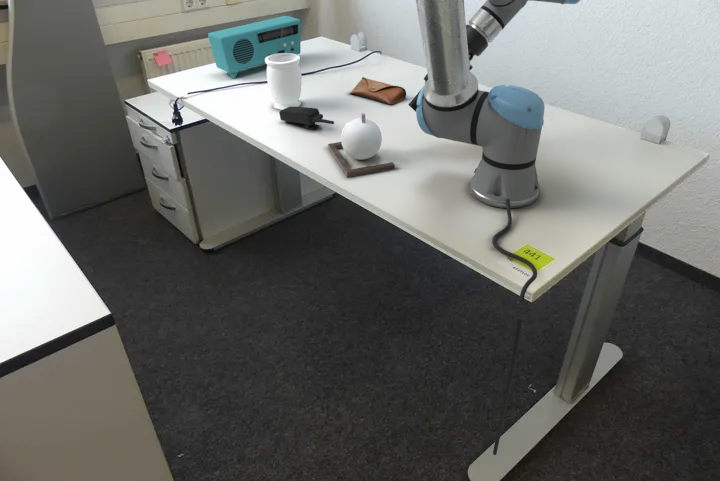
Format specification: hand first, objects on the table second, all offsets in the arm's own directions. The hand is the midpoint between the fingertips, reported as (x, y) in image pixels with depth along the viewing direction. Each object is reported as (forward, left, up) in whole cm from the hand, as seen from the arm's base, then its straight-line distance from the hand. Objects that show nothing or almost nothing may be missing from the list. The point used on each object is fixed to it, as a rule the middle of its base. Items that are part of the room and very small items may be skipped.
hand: (412, 108), depth 138 cm
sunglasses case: (+40, -5, -12) cm, 42 cm away
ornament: (+1, +14, -12) cm, 18 cm away
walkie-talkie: (+24, +22, -12) cm, 34 cm away
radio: (+84, +26, -12) cm, 89 cm away
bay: (0, +14, -11) cm, 18 cm away
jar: (+43, +25, -12) cm, 51 cm away
